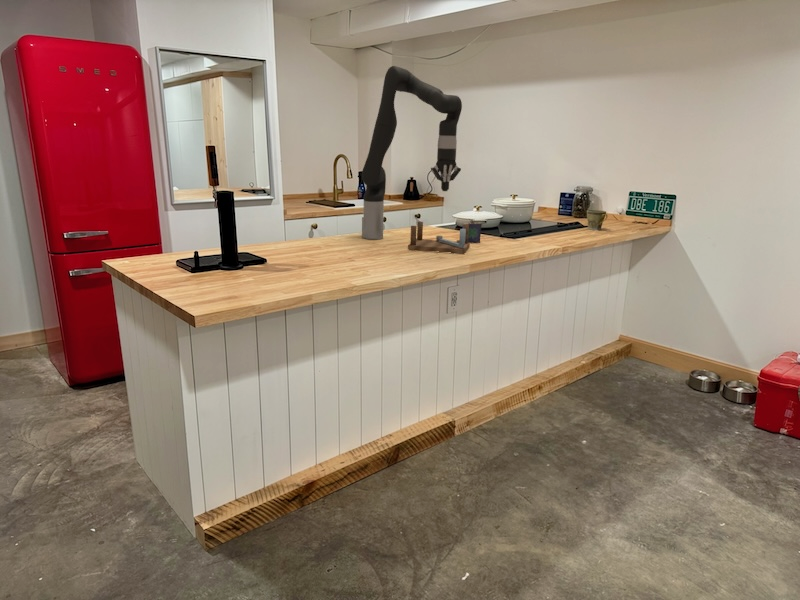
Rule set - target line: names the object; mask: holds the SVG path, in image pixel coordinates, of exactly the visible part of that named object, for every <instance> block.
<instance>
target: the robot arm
mask: <svg viewBox="0 0 800 600" xmlns="http://www.w3.org/2000/svg"><path fill="white" fill-rule="evenodd" d="M383 80H384V81H383V86H382V93H381V99H380V104H379V109H378V113H377V116H376V120H375V124H374V129H373V131H372V137H371V142H370V146H369V150H368V153H367V157H366V160H365V162H364V164H363V165H364V166H363V167H362V168H363V169H362V171H361V180H362V183H363V184H364V185H365V187H366V189H365V193H364V194H363V217H361V238H362V239H366V240H381V239H384V211H385V210H384V208H385V207H384V204H385V203H384V198H385V195H386V185H387V184H386V183H387V176H386V171H385V169H384V167H383V162H384V158H385V156H386V153H387V152H388V150H389V148H390V147H391V144H392V142H393V139H394V138H395V133H396V129H397V124H398V118H397V113H396V109H395V98H396V93H397V92H402V93H404V92H405V93H409V94H412V95H415V96H416V97H417V98H418V99H419V100H420V101H422V102H423V103H425V104H427V105H429V106H431V107H432V108H433V109H434V110H436V111H437V112H438V113H441V114H446V118H445V119H442V120H441V121H440V122H439V125H438V127H439V128H438V140H437V155H436V156H437V157H436V162H435V165H434V166H433V167H430V170H431V172H432V173H433V175H434V176H435V178H436V180H438V181H440V184H441V185H440V186H441V190H442V192H448V190H450V182H451V181H454V180H455V179H456V177H457V176H458V175H459V174H460V172H461V170H462V168H460V167H459V166H458V165H457V162H456V160H457V142H458V141H457V131H458V130H457V129H458V122H459V119H460V117H461V114H462V113H461V112H462V108H463V104H462V103H463V102H462V99H461V98H460V96H458V95H453V94H446V93H444V92H443V91H442V90H441V89H440V88H438V87H436V86H434V85H432V84H429V83H427V82H425V81H422V80H421V79H419V77H416V75H414V74H413V73H412V72H410V71H409V70H407V69H406V68H403V67H400V66H396V65H392V66H390V67H388V69H387V71H386V73H385V76H384V79H383Z"/></svg>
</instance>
